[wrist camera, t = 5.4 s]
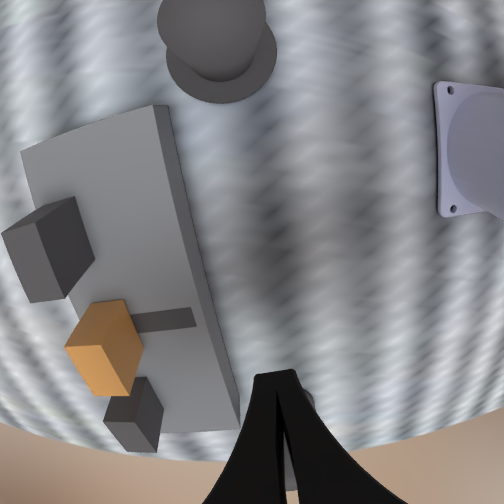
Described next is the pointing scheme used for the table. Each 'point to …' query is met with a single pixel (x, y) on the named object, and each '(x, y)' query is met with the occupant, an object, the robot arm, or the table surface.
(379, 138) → the table surface
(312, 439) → the robot arm
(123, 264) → the box
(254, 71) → the grey disc-based knob
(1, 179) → the table surface
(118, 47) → the table surface
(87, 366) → the switch
